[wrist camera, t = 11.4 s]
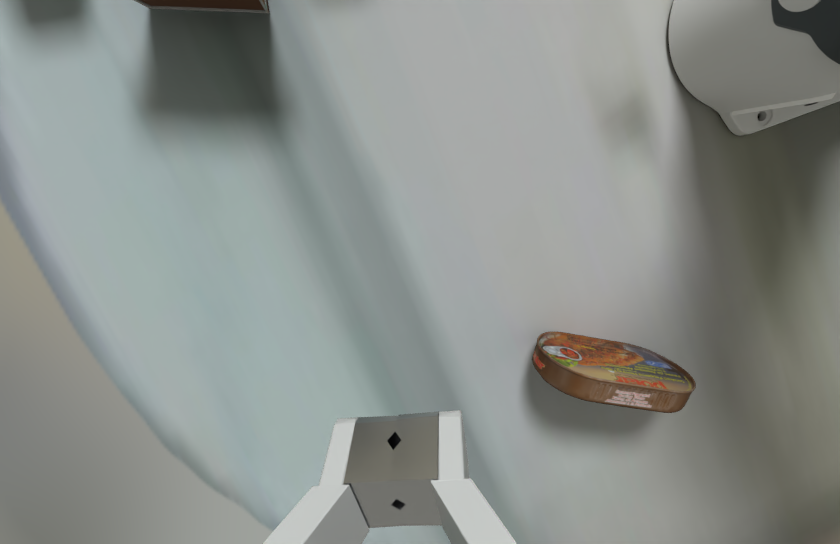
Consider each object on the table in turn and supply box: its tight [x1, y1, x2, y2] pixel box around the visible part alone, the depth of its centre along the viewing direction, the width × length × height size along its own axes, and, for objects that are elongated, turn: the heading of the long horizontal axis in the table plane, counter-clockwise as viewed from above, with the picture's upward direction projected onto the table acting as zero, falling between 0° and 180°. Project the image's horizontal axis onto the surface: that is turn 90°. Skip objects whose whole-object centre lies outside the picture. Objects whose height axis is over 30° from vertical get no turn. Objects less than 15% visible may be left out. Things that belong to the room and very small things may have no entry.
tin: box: [532, 332, 696, 413], centre depth 39 cm, size 15×3×8 cm, turn 78°
